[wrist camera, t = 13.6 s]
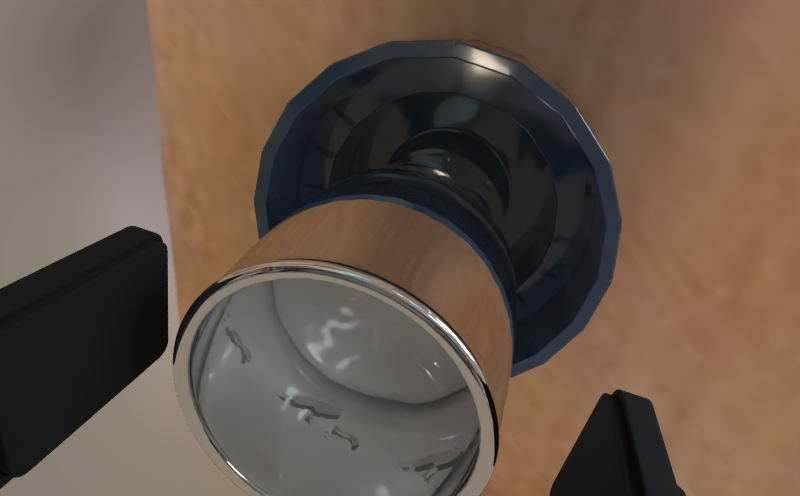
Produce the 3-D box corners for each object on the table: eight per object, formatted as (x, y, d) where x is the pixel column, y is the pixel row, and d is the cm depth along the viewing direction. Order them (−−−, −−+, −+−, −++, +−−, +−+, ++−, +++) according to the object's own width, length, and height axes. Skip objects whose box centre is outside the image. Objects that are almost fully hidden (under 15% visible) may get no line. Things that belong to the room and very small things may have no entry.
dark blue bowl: (418, -28, 20) (372, -56, 14) (663, 166, 20) (716, 216, 15) (277, 206, 26) (204, 255, 20) (471, 351, 26) (455, 440, 21)
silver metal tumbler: (503, 276, 23) (469, 590, 10) (366, 244, 25) (172, 490, 11) (540, 132, 21) (559, 308, 7) (382, 104, 22) (146, 211, 8)
